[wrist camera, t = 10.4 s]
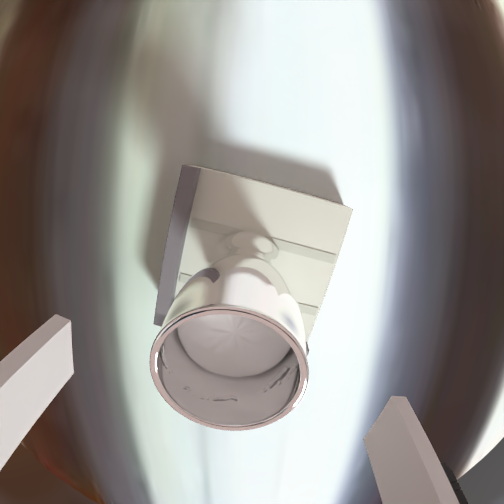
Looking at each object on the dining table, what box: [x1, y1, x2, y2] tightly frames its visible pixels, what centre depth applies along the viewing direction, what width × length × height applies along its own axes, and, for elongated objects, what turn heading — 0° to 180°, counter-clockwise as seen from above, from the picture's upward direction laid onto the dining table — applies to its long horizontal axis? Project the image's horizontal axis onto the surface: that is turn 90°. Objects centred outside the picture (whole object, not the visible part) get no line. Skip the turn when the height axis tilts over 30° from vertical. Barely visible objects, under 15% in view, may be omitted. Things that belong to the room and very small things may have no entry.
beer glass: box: [150, 231, 309, 431], centre depth 19 cm, size 7×7×15 cm
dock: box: [154, 165, 353, 356], centre depth 27 cm, size 14×14×4 cm
